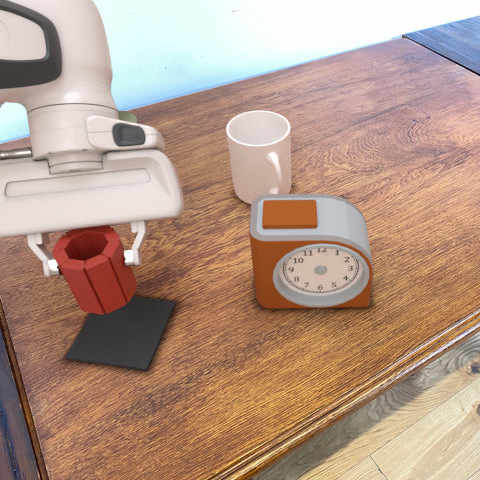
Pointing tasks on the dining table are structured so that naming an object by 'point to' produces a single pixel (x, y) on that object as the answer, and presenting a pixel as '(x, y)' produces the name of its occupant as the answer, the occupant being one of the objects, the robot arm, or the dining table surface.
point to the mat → (123, 334)
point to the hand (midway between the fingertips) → (95, 270)
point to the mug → (259, 154)
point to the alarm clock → (309, 252)
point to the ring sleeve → (95, 268)
